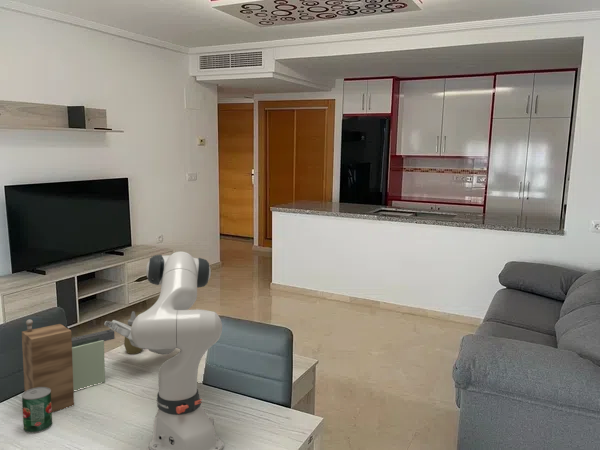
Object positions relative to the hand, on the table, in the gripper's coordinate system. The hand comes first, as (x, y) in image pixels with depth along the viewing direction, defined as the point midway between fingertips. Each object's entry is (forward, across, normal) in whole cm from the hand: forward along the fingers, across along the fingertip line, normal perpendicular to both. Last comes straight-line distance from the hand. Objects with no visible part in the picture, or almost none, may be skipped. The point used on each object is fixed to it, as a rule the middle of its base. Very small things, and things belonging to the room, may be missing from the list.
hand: (111, 326), depth 184 cm
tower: (+12, +9, +30) cm, 34 cm away
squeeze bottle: (-25, -17, +9) cm, 31 cm away
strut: (+6, 0, +9) cm, 11 cm away
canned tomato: (+18, +20, +34) cm, 43 cm away
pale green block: (+1, 0, +23) cm, 23 cm away
